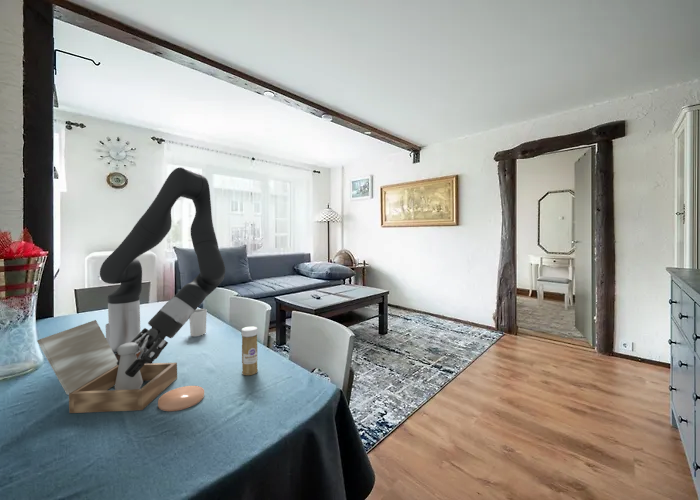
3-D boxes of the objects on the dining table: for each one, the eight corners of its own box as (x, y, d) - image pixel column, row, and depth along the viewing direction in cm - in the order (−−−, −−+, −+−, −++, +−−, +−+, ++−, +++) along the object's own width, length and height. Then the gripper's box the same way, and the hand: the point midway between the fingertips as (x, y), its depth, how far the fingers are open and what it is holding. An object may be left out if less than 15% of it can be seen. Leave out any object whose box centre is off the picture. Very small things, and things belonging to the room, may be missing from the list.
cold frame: (39, 414, 67) (36, 339, 67) (95, 380, 83) (92, 319, 83) (142, 410, 69) (140, 336, 68) (177, 377, 85) (175, 318, 84)
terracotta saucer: (148, 412, 68) (148, 407, 68) (171, 390, 78) (171, 386, 78) (193, 410, 69) (193, 406, 69) (210, 388, 79) (210, 385, 79)
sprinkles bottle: (248, 377, 85) (247, 331, 85) (238, 373, 88) (238, 328, 87) (261, 371, 89) (260, 327, 89) (251, 367, 92) (251, 324, 91)
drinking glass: (210, 333, 125) (210, 310, 125) (195, 337, 119) (194, 313, 119) (201, 330, 129) (201, 308, 128) (186, 335, 123) (185, 311, 123)
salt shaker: (120, 402, 72) (119, 349, 72) (110, 395, 76) (109, 345, 75) (147, 391, 77) (145, 342, 77) (137, 385, 80) (135, 338, 80)
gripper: (153, 305, 86) (104, 356, 78) (170, 313, 77) (117, 372, 69) (173, 319, 90) (129, 369, 82) (192, 329, 81) (144, 385, 73)
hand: (123, 370), depth 75 cm, fingers open, 8 cm apart
